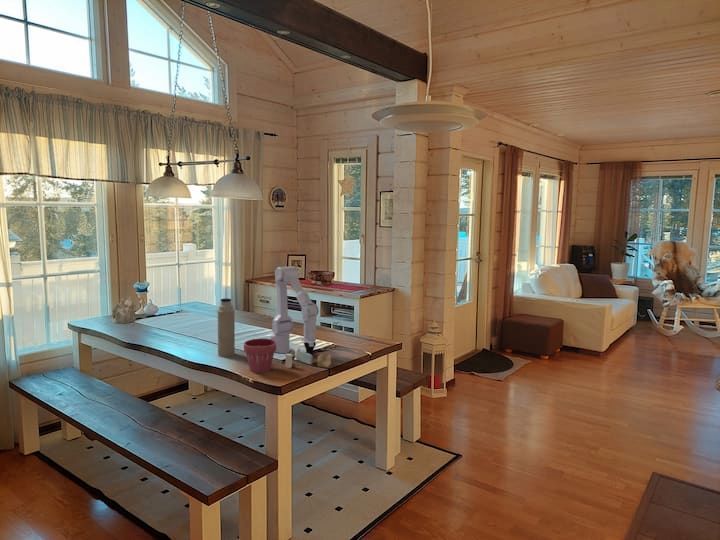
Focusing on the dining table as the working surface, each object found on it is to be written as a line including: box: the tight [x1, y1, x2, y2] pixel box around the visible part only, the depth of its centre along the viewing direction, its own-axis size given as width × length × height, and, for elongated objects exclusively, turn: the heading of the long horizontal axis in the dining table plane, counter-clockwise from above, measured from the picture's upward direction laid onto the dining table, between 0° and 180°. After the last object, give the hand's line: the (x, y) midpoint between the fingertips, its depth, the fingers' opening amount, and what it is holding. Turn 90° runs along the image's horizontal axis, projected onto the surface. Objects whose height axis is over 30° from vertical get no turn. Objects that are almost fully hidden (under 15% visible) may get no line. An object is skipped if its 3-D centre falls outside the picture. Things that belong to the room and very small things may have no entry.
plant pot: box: [243, 338, 276, 374], centre depth 223 cm, size 14×14×13 cm
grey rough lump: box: [110, 296, 137, 324], centre depth 310 cm, size 16×16×15 cm
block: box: [317, 353, 332, 368], centre depth 233 cm, size 5×5×4 cm
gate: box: [298, 350, 313, 365], centre depth 236 cm, size 9×1×4 cm, turn 42°
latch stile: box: [285, 353, 293, 369], centre depth 231 cm, size 3×7×6 cm, turn 168°
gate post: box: [293, 348, 301, 361], centre depth 241 cm, size 4×4×5 cm
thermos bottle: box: [217, 297, 236, 358], centre depth 243 cm, size 8×8×28 cm
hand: (309, 357), depth 237 cm, fingers closed, pressing on gate
